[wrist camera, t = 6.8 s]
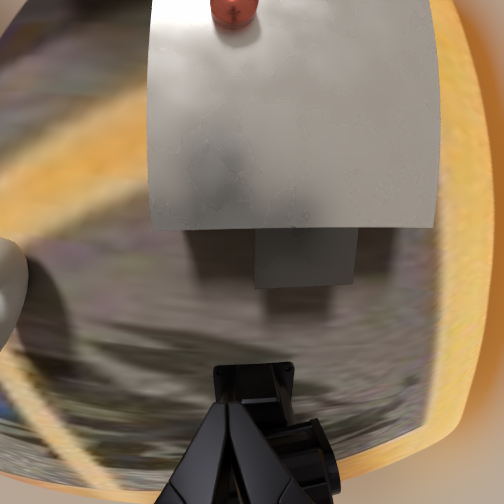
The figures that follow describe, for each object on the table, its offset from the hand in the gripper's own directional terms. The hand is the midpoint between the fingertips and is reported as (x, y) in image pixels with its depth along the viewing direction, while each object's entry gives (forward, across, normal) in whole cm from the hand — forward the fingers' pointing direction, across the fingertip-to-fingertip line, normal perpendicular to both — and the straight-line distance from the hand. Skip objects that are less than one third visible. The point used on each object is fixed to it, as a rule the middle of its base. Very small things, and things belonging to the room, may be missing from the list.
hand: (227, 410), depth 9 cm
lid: (+8, -4, -10) cm, 13 cm away
